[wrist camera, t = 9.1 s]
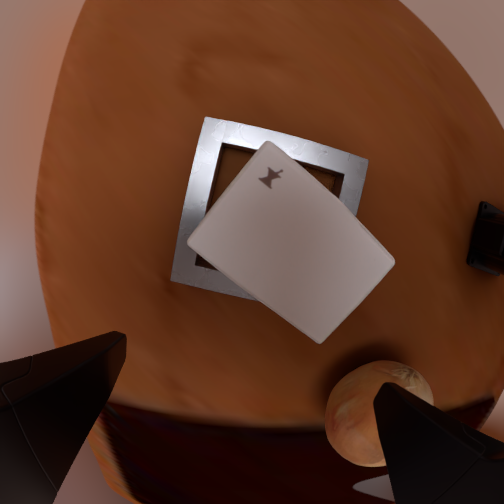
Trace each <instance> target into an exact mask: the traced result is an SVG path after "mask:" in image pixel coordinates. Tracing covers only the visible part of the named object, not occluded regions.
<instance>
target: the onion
mask: <svg viewBox="0 0 504 504" xmlns="http://www.w3.org/2000/svg"><path fill="white" fill-rule="evenodd" d="M385 382H394V383H396V384H398V385H399V386H401V387H403V388H404V389H406V390H408V391H409V392H411V393H413V394H414V395H416V396H418V397H419V398H421V399H423V400H424V401H426V402H428V403H429V404H431V405H433V395H432V391H431V388H430V386H429V385H428V383H427V381H426V380H425V379H424V377H423V376H422V375H421V374H420V373H419V372H418V371H416V370H415V369H413V368H412V367H409V366H407V365H405V364H403V363H398V362H395V361H388V360H380V361H374V362H371V363H368V364H365V365H362V366H360V367H358V368H357V369H355V370H353V371H352V372H350V373H348V374H347V375H346V376H344V377H343V378H342V379H341V380H340V381H339V382H338V383H337V384H336V385H335V386H334V388H333V390H332V392H331V394H330V396H329V398H328V402H327V407H326V411H325V429H326V434H327V438H328V440H329V442H330V444H331V445H332V446H333V448H334V449H335V450H336V451H337V452H338V453H339V454H340V455H341V456H342V457H344V458H345V459H347V460H349V461H351V462H352V463H354V464H357V465H361V466H368V467H376V466H385V465H386V462H385V458H384V454H383V451H382V447H381V443H380V440H379V435H378V430H377V424H376V418H375V413H374V407H373V400H374V398H375V396H376V394H377V393H378V391H379V389H380V388H381V386H382V384H383V383H385Z"/></svg>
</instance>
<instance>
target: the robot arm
mask: <svg viewBox="0 0 504 504" xmlns="http://www.w3.org/2000/svg"><path fill="white" fill-rule="evenodd" d="M471 260H472V261H471ZM467 264H468V265H470V266H472V267H475V268H478V269H480V270H483V271H486V272H488V273H491V274H494V275H496V276H499V275H500V274H503V275H504V213H503V212H502V211H500V210H498V209H497V208H495V207H494V206H492V205H491V204H489V203H487V202H485V201H482V202H481V204H480V208H479V213H478V218H477V223H476V227H475V232H474V236H473V240H472V244H471V248H470V251H469V255H468V258H467ZM126 342H127V338H126V335H125V334H123V333H120V332H117V331H112V332H109V333H106V334H102V335H99V336H96V337H93V338H89V339H86V340H83V341H80V342H76V343H73V344H70V345H66V346H63V347H59V348H56V349H53V350H49V351H46V352H42V353H39V354H35V355H33V356H28V357H24V358H20V359H17V360H12V361H8V362H3V363H0V504H53V502H54V500H55V498H56V496H57V492H58V491H59V489H60V487H61V485H62V483H63V481H64V479H65V477H66V475H67V473H68V471H69V469H70V467H71V465H72V464H73V461H74V460H75V458H76V456H77V454H78V452H79V450H80V448H81V446H82V444H83V443H84V441H85V439H86V437H87V436H88V434H89V432H90V430H91V428H92V427H93V425H94V423H95V421H96V419H97V418H98V416H99V414H100V412H101V411H102V409H103V407H104V405H105V404H106V402H107V400H108V398H109V396H110V394H111V392H112V390H113V387H114V385H115V383H116V380H117V378H118V376H119V373H120V371H121V369H122V366H123V364H124V362H125V358H126ZM373 407H374V413H375V418H376V424H377V430H378V435H379V440H380V443H381V447H382V451H383V454H384V458H385V462H386V466H387V470H388V474H389V478H390V482H391V486H392V490H393V495H394V499H395V504H504V443H503V442H501V441H499V440H496V439H494V438H492V437H490V436H488V435H486V434H484V433H481V432H479V431H477V430H475V429H474V428H472V427H470V426H468V425H466V424H464V423H463V422H461V421H459V420H457V419H455V418H454V417H452V416H450V415H448V414H447V413H445V412H443V411H441V410H440V409H438V408H436V407H435V406H433V405H431V404H429V403H428V402H426V401H424V400H423V399H421V398H419V397H418V396H416V395H414V394H413V393H411V392H409V391H408V390H406V389H404V388H403V387H401V386H399V385H398V384H396V383H394V382H385V383H383V384H382V386H381V388H380V389H379V391H378V393H377V394H376V396H375V398H374V400H373Z"/></svg>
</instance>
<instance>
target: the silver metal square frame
mask: <svg viewBox="0 0 504 504" xmlns="http://www.w3.org/2000/svg"><path fill="white" fill-rule="evenodd" d="M265 141H271V142H272V143H274V144H275V145H276V146H278V147H279V148H280V149H281V150H283V151H284V152H285V153H286V154H287V155H289V156H290V157H291V158H292V159H293V160H295V161H296V162H297V163H298V164H299V165H303V166H306V167H310V168H313V169H317V170H320V171H323V172H327V173H330V174H333V175H336V179H335V183H334V187H333V191H332V194H334V195H335V196H336V197H337V198H338V199H339V200H340V201H342V203H343V204H344V205H345V206H346V207H347V208H348V209H349V210H350V211H351V212H352V214H353V215H354V216H355V217H356V214H357V210H358V206H359V202H360V198H361V194H362V189H363V185H364V181H365V176H366V171H367V167H368V162H369V160H367V159H364V158H361V157H358V156H356V155H353V154H350V153H347V152H344V151H341V150H338V149H335V148H332V147H329V146H326V145H322V144H319V143H316V142H312V141H309V140H306V139H302V138H298V137H295V136H291V135H287V134H284V133H280V132H276V131H272V130H268V129H263V128H259V127H255V126H250V125H246V124H241V123H236V122H231V121H226V120H220V119H215V118H209V117H205V119H204V123H203V127H202V130H201V134H200V138H199V142H198V146H197V150H196V154H195V158H194V162H193V166H192V170H191V175H190V179H189V183H188V188H187V193H186V197H185V202H184V207H183V212H182V217H181V222H180V227H179V232H178V238H177V243H176V249H175V255H174V261H173V267H172V273H171V280H170V281H174V282H178V283H182V284H186V285H190V286H194V287H198V288H203V289H207V290H211V291H215V292H220V293H224V294H228V295H233V296H237V297H242V298H247V299H251V300H256V301H259V300H257V299H256V298H255V297H253V296H252V295H251V294H249V293H248V292H246V291H245V290H244V289H242V288H241V287H240V286H238V285H237V284H236V283H234V282H233V281H232V280H231V279H229V278H228V277H227V276H225V275H224V274H223V273H222V272H220V271H219V270H218V269H217V268H215V267H214V266H213V265H212V264H210V263H209V262H208V261H207V260H204V259H200V255H199V254H198V253H197V252H195V251H194V250H193V249H192V248H190V247H189V246H188V244H187V240H188V238H189V237H190V235H191V234H192V233H193V231H194V230H195V229H196V227H197V226H198V225H199V223H200V222H201V221H202V219H203V218H204V217H205V215H206V214H207V213H208V212H209V210H210V205H211V201H212V196H213V192H214V187H215V183H216V179H217V175H218V170H219V166H220V162H221V158H222V154H223V150H224V147H228V148H233V149H238V150H242V151H247V152H251V153H256V151H257V150H258V149H259V148H260V147H261V145H262V144H263V143H264V142H265Z"/></svg>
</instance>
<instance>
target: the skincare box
mask: <svg viewBox="0 0 504 504" xmlns="http://www.w3.org/2000/svg"><path fill="white" fill-rule="evenodd" d="M187 244H188V246H189V247H190V248H192V249H193V250H194V251H195V252H197V253H198V254H199V255H200V256H202V257H203V258H204V259H205V260H207V261H208V262H209V263H210V264H212V265H213V266H214V267H215V268H217V269H218V270H219V271H220V272H222V273H223V274H224V275H225V276H227V277H228V278H229V279H231V280H232V281H233V282H234V283H236V284H237V285H238V286H240V287H241V288H242V289H244V290H245V291H246V292H248V293H249V294H251V295H252V296H253V297H255V298H256V299H257V300H259V301H260V302H262V303H263V304H264V305H266V306H267V307H269V308H270V309H271V310H273V311H274V312H276V313H277V314H278V315H280V316H281V317H282V318H284V319H285V320H286V321H288V322H289V323H290V324H292V325H293V326H295V327H296V328H297V329H299V330H300V331H302V332H303V333H304V334H306V335H307V336H309V337H310V338H311V339H313V340H314V341H315V342H316V343H318V344H321V343H322V342H323V341H324V340H325V339H326V338H327V337H328V336H329V335H330V334H331V333H332V332H333V331H334V330H335V329H336V328H337V327H338V326H339V325H340V324H341V323H342V322H343V321H344V320H345V319H346V318H347V316H348V315H349V314H350V313H351V312H352V311H353V310H354V309H355V308H356V307H357V306H358V305H359V304H360V303H361V302H362V301H363V300H364V299H365V297H366V296H367V295H368V294H369V293H370V292H371V291H372V290H373V289H374V287H375V286H376V285H377V284H378V283H379V282H380V281H381V280H382V278H383V277H384V276H385V275H386V274H387V273H388V272H389V270H390V269H391V268H392V267H393V266H394V264H395V260H394V258H393V256H392V255H391V254H390V253H389V252H388V251H387V250H386V249H385V248H384V247H383V246H382V245H381V244H380V243H379V241H378V240H377V239H376V238H375V237H374V236H373V235H372V234H371V233H370V232H369V231H368V230H367V229H366V228H365V227H364V226H363V225H362V224H361V222H360V221H359V220H358V219H357V218H356V217H355V216H354V215H353V214H352V212H351V211H350V210H349V209H348V208H347V207H346V206H345V205H344V204H343V203H342V201H340V200H339V199H338V198H337V197H336V196H335V195H334V194H332V193H331V192H330V191H329V190H328V189H326V188H325V187H324V186H323V185H322V184H321V183H320V182H319V181H318V180H317V179H315V178H314V177H313V176H312V175H311V174H310V173H309V172H307V171H306V170H305V169H304V168H303V167H302V166H301V165H299V164H298V163H297V162H296V161H295V160H293V159H292V158H291V157H290V156H289V155H287V154H286V153H285V152H284V151H283V150H281V149H280V148H279V147H278V146H276V145H275V144H274V143H272V142H271V141H265V142H264V143H263V144H262V145H261V147H260V148H259V149H258V150H257V151H256V153H255V154H254V155H253V156H252V158H251V159H250V160H249V161H248V162H247V164H246V165H245V166H244V167H243V169H242V170H241V171H240V172H239V173H238V175H237V176H236V177H235V178H234V180H233V181H232V182H231V183H230V185H229V186H228V187H227V188H226V190H225V191H224V192H223V193H222V195H221V196H220V197H219V199H218V200H217V201H216V202H215V204H214V205H213V206H212V208H211V209H210V210H209V212H208V213H207V214H206V215H205V217H204V218H203V219H202V221H201V222H200V223H199V225H198V226H197V227H196V229H195V230H194V231H193V233H192V234H191V235H190V237H189V238H188V240H187Z"/></svg>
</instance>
